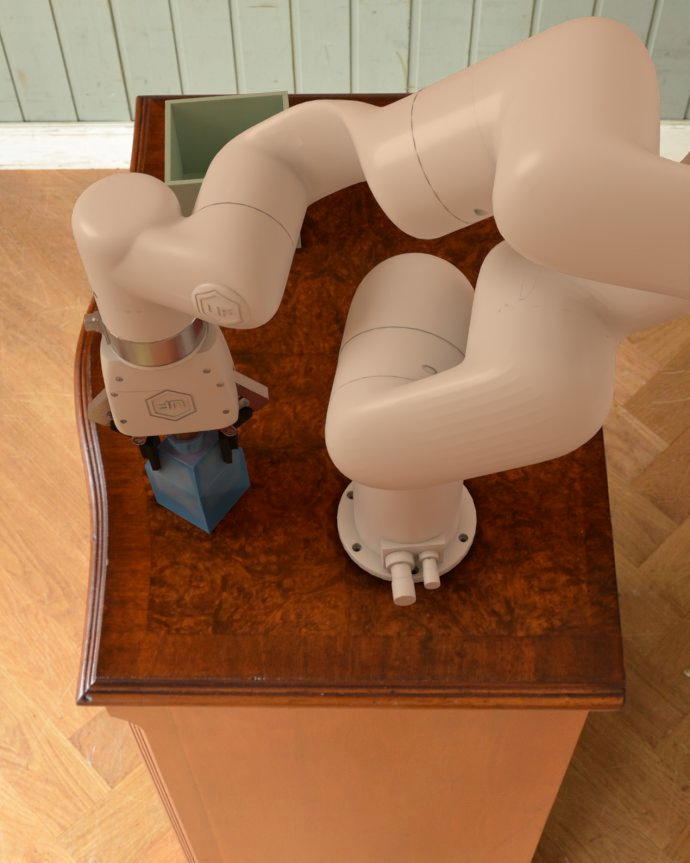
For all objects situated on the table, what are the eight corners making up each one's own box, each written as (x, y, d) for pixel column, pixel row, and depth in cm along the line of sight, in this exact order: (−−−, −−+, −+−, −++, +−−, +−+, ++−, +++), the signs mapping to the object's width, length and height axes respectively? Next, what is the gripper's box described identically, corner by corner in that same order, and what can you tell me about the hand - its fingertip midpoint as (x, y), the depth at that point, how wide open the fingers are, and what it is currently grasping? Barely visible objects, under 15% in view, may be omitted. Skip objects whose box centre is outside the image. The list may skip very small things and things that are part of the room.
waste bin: (301, 248, 125) (294, 174, 116) (180, 258, 125) (164, 185, 116) (294, 165, 132) (287, 90, 124) (179, 174, 132) (165, 100, 123)
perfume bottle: (250, 485, 107) (234, 410, 97) (209, 533, 105) (188, 461, 95) (198, 455, 110) (177, 379, 100) (157, 502, 107) (131, 428, 97)
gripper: (38, 370, 84) (94, 499, 99) (271, 348, 85) (292, 480, 99) (45, 294, 89) (97, 428, 104) (266, 273, 89) (287, 410, 104)
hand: (192, 452), depth 101 cm, fingers closed on perfume bottle, 5 cm apart
